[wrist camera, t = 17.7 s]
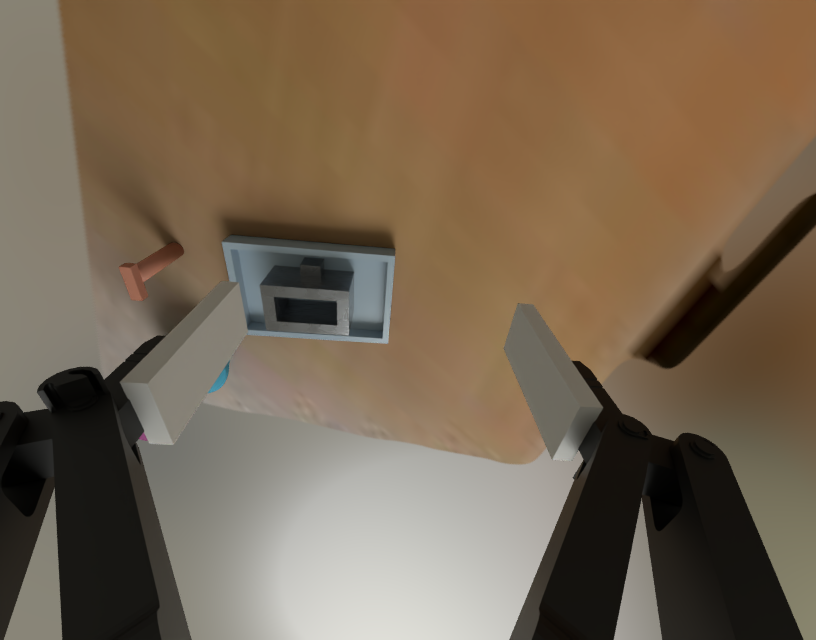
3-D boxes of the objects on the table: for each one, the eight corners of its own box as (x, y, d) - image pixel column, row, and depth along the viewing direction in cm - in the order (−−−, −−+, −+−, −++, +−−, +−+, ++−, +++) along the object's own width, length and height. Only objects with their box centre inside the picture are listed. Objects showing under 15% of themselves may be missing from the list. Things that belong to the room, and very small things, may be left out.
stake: (165, 237, 41) (114, 266, 34) (180, 239, 41) (133, 267, 34) (173, 266, 43) (128, 299, 36) (188, 268, 43) (145, 300, 36)
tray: (230, 234, 41) (221, 241, 39) (395, 248, 42) (395, 256, 40) (247, 324, 48) (240, 334, 46) (388, 333, 49) (387, 343, 47)
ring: (279, 307, 46) (266, 330, 41) (273, 254, 42) (257, 273, 37) (353, 312, 46) (348, 335, 42) (354, 261, 42) (349, 280, 38)
